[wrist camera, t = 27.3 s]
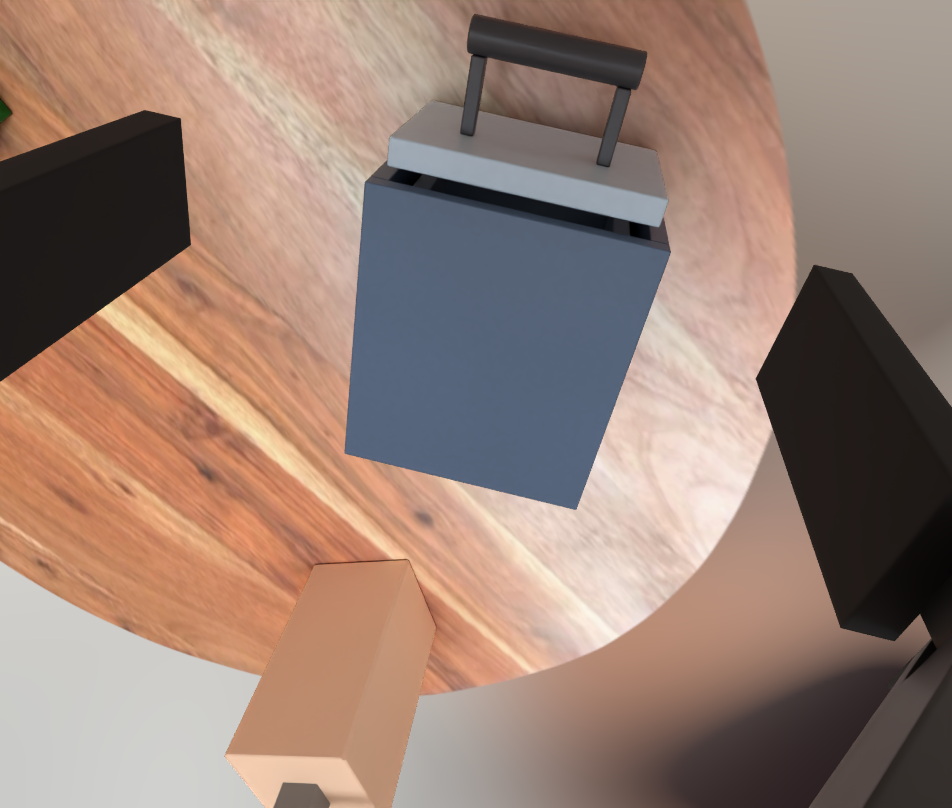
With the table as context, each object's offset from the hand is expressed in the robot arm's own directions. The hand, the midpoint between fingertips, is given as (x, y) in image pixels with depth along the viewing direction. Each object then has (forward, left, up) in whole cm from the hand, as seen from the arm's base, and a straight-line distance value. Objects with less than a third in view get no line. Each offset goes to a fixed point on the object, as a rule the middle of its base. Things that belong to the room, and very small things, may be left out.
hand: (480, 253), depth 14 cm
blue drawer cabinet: (+7, +8, -23) cm, 25 cm away
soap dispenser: (+29, +29, -23) cm, 47 cm away
